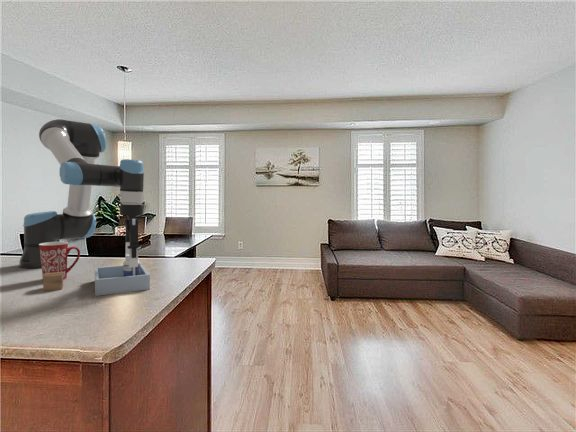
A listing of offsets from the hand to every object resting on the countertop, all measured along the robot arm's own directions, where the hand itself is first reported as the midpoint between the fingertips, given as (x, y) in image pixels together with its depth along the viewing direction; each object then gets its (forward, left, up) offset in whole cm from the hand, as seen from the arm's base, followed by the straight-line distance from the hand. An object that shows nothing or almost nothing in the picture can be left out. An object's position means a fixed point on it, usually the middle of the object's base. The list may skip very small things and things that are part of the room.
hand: (131, 263), depth 119 cm
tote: (0, -3, -7) cm, 8 cm away
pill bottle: (0, 0, -7) cm, 7 cm away
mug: (-19, -22, -8) cm, 30 cm away
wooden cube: (-5, -23, -8) cm, 25 cm away
